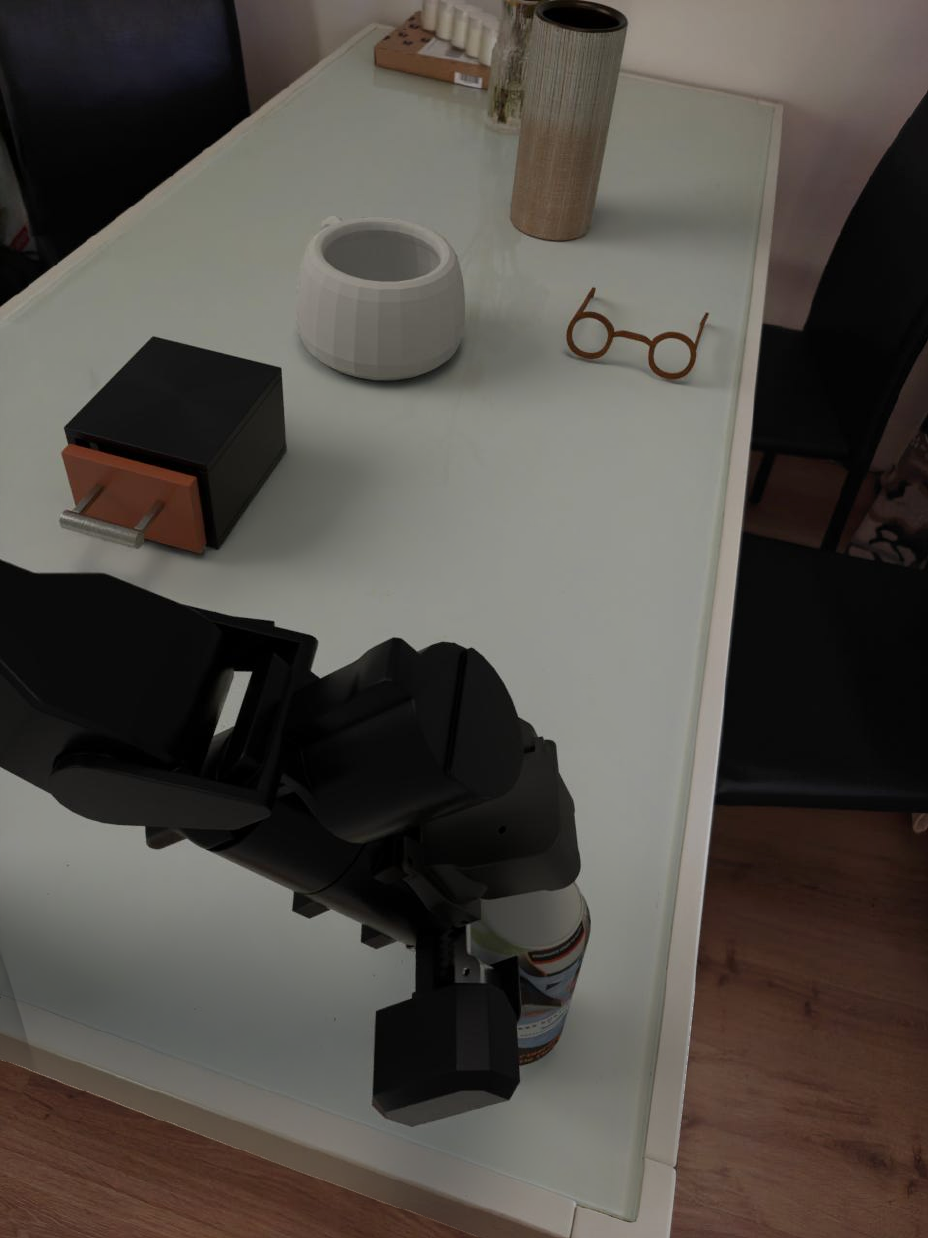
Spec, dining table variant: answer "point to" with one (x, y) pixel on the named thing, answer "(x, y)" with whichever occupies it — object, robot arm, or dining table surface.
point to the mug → (380, 298)
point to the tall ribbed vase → (566, 116)
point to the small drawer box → (194, 422)
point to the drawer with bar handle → (133, 498)
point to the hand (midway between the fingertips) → (549, 946)
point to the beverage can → (537, 954)
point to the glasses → (633, 336)
